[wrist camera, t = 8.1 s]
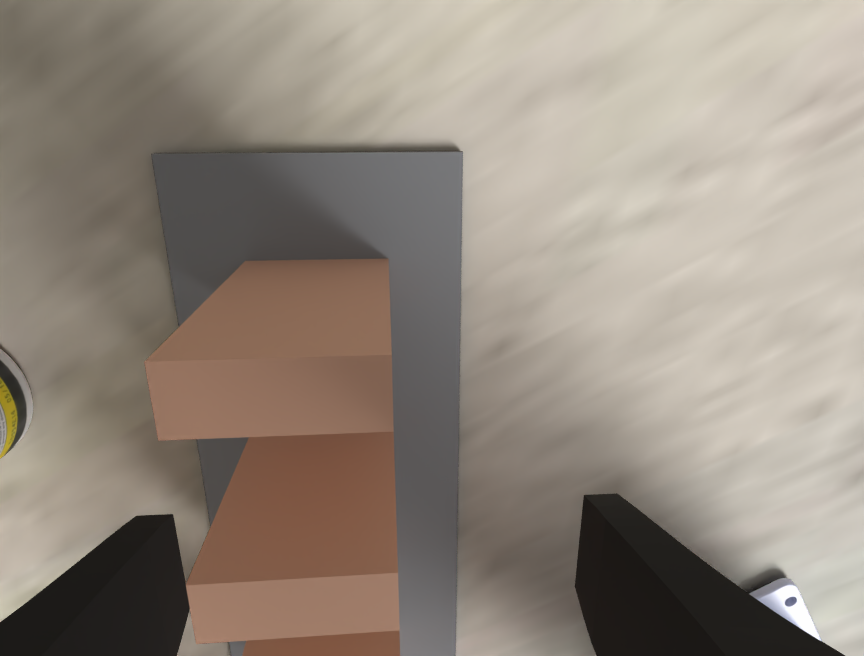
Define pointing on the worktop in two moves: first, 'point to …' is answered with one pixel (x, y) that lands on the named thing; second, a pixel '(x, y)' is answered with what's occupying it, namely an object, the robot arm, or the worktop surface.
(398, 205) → the mat
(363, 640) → the domino
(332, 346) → the domino
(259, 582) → the domino
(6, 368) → the supplement bottle
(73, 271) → the worktop surface
